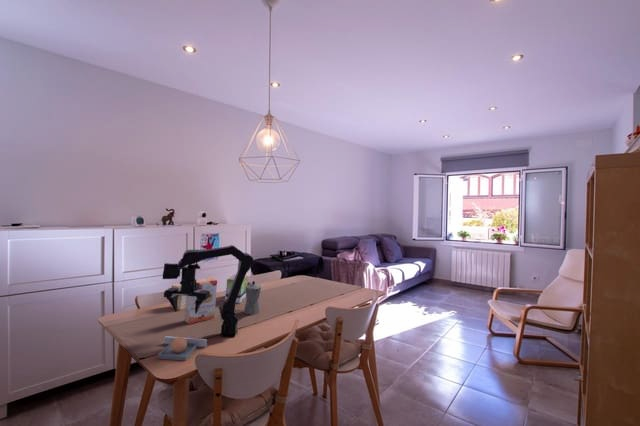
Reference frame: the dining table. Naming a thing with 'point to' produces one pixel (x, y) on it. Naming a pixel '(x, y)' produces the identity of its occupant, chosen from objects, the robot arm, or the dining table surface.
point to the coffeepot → (252, 298)
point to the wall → (188, 341)
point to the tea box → (242, 290)
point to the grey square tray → (183, 355)
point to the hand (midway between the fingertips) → (186, 312)
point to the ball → (178, 344)
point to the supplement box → (179, 298)
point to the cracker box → (206, 306)
